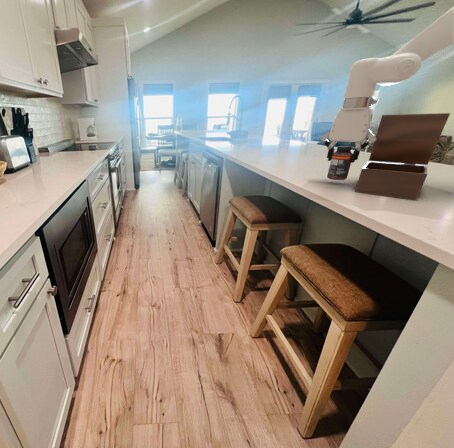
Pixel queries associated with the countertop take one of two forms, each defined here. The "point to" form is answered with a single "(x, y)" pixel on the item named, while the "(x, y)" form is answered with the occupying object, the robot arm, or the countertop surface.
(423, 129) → the lid
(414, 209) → the countertop surface
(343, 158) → the supplement bottle
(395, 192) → the chest
